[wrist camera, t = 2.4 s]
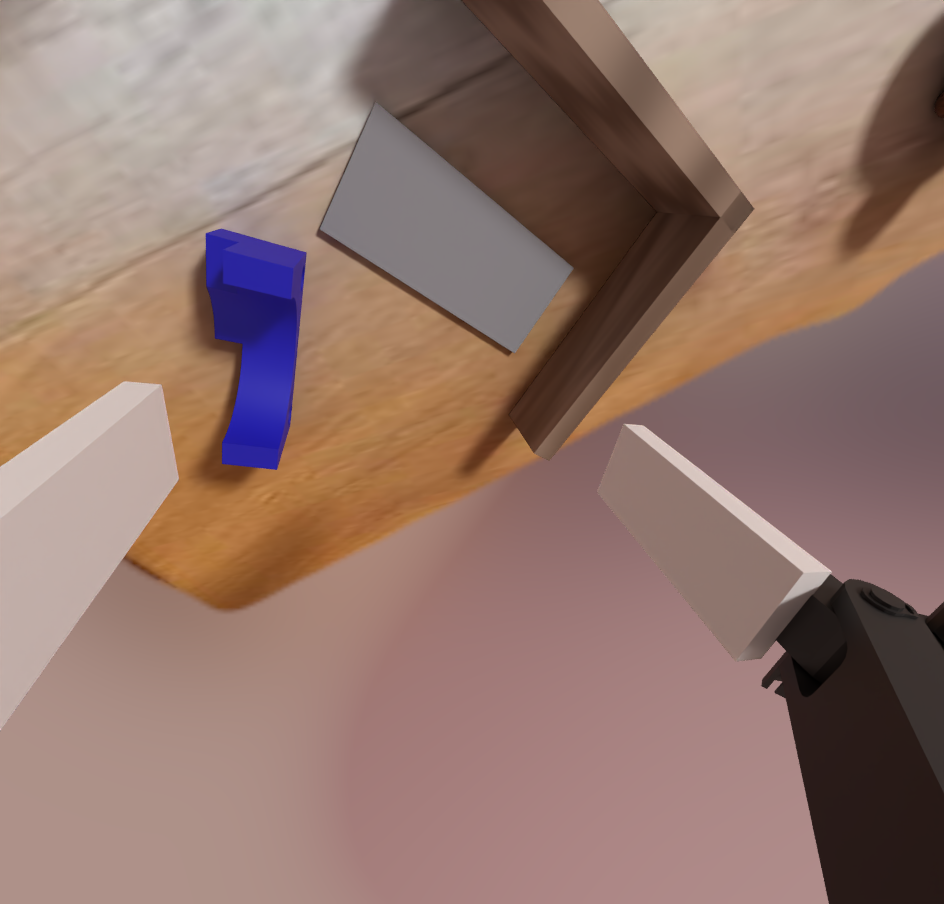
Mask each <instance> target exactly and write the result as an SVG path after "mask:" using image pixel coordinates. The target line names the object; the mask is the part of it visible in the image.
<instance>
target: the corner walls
mask: <svg viewBox="0 0 944 904" xmlns="http://www.w3.org/2000/svg"><path fill="white" fill-rule="evenodd" d="M462 2H463V3H464V4H465V5H466V6H467V7H468V8H469V9H470V10H471V11H472V12H473V13H474V15H475V16H476V17H477V18H478V19H479V20H480V21H481V22H482V23H483V24H484V25H485V26H486V27H487V29H488V30H489V31H490V32H491V33H492V34H493V35H494V36H495V37H496V38H497V39H498V40H499V42H500V43H501V44H502V45H503V46H504V47H505V48H506V49H507V50H508V51H509V52H510V53H511V55H512V56H513V57H514V58H515V59H516V60H517V61H518V62H519V63H520V64H521V65H522V66H523V68H524V69H525V70H526V71H527V72H528V73H529V74H530V75H531V76H532V77H533V78H534V79H535V81H536V82H537V83H538V84H539V85H540V86H541V87H542V88H543V89H544V90H545V91H546V92H547V93H548V95H549V96H550V97H551V98H552V99H553V100H554V101H555V102H556V103H557V104H558V105H559V106H560V108H561V109H562V110H563V111H564V112H565V113H566V114H567V115H568V116H569V117H570V118H571V119H572V121H573V122H574V123H575V124H576V125H577V126H578V127H579V128H580V129H581V130H582V131H583V132H584V134H585V135H586V136H587V137H588V138H589V139H590V140H591V141H592V142H593V143H594V144H595V145H596V146H597V148H598V149H599V150H600V151H601V152H602V153H603V154H604V155H605V156H606V157H607V158H608V159H609V161H610V162H611V163H612V164H613V165H614V166H615V167H616V168H617V169H618V170H619V171H620V172H621V174H622V175H623V176H624V177H625V178H626V179H627V180H628V181H629V182H630V183H631V184H632V185H633V187H634V188H635V189H636V190H637V191H638V192H639V193H640V194H641V195H642V196H643V197H644V198H645V200H646V201H647V202H648V203H649V204H650V205H651V206H652V207H653V208H654V209H655V210H656V211H657V213H656V214H655V216H654V217H653V218H652V220H651V221H650V222H649V224H648V225H647V227H646V228H645V229H644V231H643V232H642V233H641V235H640V236H639V238H638V239H637V240H636V242H635V243H634V244H633V246H632V247H631V248H630V250H629V251H628V253H627V254H626V255H625V257H624V258H623V259H622V261H621V262H620V264H619V265H618V266H617V268H616V269H615V270H614V272H613V273H612V274H611V276H610V277H609V279H608V280H607V281H606V283H605V284H604V285H603V287H602V288H601V290H600V291H599V292H598V294H597V295H596V296H595V298H594V299H593V300H592V302H591V303H590V305H589V306H588V307H587V309H586V310H585V311H584V313H583V314H582V316H581V317H580V318H579V320H578V321H577V322H576V324H575V325H574V326H573V328H572V329H571V331H570V332H569V333H568V335H567V336H566V337H565V339H564V340H563V341H562V343H561V344H560V346H559V347H558V348H557V350H556V351H555V352H554V354H553V355H552V357H551V358H550V359H549V361H548V362H547V363H546V365H545V366H544V367H543V369H542V370H541V372H540V373H539V374H538V376H537V377H536V378H535V380H534V381H533V383H532V384H531V385H530V387H529V388H528V389H527V391H526V392H525V393H524V395H523V396H522V398H521V399H520V400H519V402H518V403H517V404H516V406H515V407H514V409H513V410H512V411H511V413H510V414H509V416H510V417H511V419H512V420H513V422H514V423H515V425H516V426H517V428H518V430H519V431H520V433H521V434H522V436H523V437H524V439H525V440H526V442H527V443H528V445H529V446H530V448H531V449H532V451H533V452H534V454H536V455H538V456H540V457H542V458H544V459H546V460H548V461H549V460H550V459H551V458H552V457H553V456H554V454H555V453H556V452H557V451H558V449H559V448H560V447H561V446H562V445H563V443H564V442H565V441H566V440H567V438H568V437H569V436H570V435H571V433H572V432H573V431H574V430H575V429H576V427H577V426H578V425H579V424H580V422H581V421H582V420H583V419H584V418H585V416H586V415H587V414H588V413H589V411H590V410H591V409H592V408H593V406H594V405H595V404H596V403H597V402H598V400H599V399H600V398H601V397H602V395H603V394H604V393H605V392H606V391H607V389H608V388H609V387H610V386H611V384H612V383H613V382H614V381H615V379H616V378H617V377H618V376H619V375H620V373H621V372H622V371H623V370H624V368H625V367H626V366H627V365H628V363H629V362H630V361H631V360H632V359H633V357H634V356H635V355H636V354H637V352H638V351H639V350H640V349H641V348H642V346H643V345H644V344H645V343H646V341H647V340H648V339H649V338H650V336H651V335H652V334H653V333H654V332H655V330H656V329H657V328H658V327H659V325H660V324H661V323H662V322H663V321H664V319H665V318H666V317H667V316H668V314H669V313H670V312H671V311H672V309H673V308H674V307H675V306H676V305H677V303H678V302H679V301H680V300H681V298H682V297H683V296H684V295H685V293H686V292H687V291H688V290H689V289H690V287H691V286H692V285H693V284H694V282H695V281H696V280H697V279H698V278H699V276H700V275H701V274H702V273H703V271H704V270H705V269H706V268H707V266H708V265H709V264H710V263H711V262H712V260H713V259H714V258H715V257H716V255H717V254H718V253H719V252H720V250H721V249H722V248H723V247H724V246H725V244H726V243H727V242H728V241H729V239H730V238H731V237H732V236H733V235H734V233H735V232H736V231H737V230H738V228H739V227H740V226H741V225H742V223H743V222H744V221H745V220H746V219H747V217H748V216H749V215H750V214H751V212H752V211H753V210H754V208H753V206H752V205H751V204H750V202H749V201H748V200H747V198H746V197H745V196H744V194H743V193H742V192H741V190H740V189H739V188H738V186H737V185H736V184H735V182H734V181H733V180H732V178H731V177H730V176H729V174H728V173H727V172H726V170H725V169H724V168H723V166H722V165H721V164H720V162H719V161H718V159H717V158H716V157H715V155H714V154H713V153H712V151H711V150H710V149H709V147H708V146H707V145H706V143H705V142H704V141H703V139H702V138H701V137H700V135H699V134H698V133H697V131H696V130H695V129H694V127H693V126H692V125H691V123H690V122H689V121H688V119H687V118H686V117H685V115H684V114H683V113H682V111H681V110H680V109H679V107H678V106H677V105H676V103H675V102H674V101H673V99H672V98H671V97H670V95H669V94H668V93H667V91H666V90H665V89H664V87H663V86H662V85H661V83H660V82H659V81H658V79H657V78H656V77H655V75H654V74H653V73H652V71H651V70H650V69H649V67H648V66H647V65H646V63H645V62H644V61H643V59H642V58H641V57H640V55H639V54H638V53H637V51H636V50H635V49H634V47H633V46H632V44H631V43H630V42H629V40H628V39H627V38H626V36H625V35H624V34H623V32H622V31H621V30H620V28H619V27H618V26H617V24H616V23H615V22H614V20H613V19H612V18H611V16H610V15H609V14H608V12H607V11H606V10H605V8H604V7H603V6H602V4H601V3H600V2H599V0H462Z"/></svg>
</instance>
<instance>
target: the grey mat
mask: <svg viewBox="0 0 944 904" xmlns="http://www.w3.org/2000/svg"><path fill="white" fill-rule="evenodd" d="M320 230H322V231H323V232H325V233H326V234H328V235H330V236H331V237H333V238H334V239H336V240H337V241H339V242H341V243H342V244H344V245H345V246H347V247H348V248H350V249H352V250H353V251H355V252H356V253H358V254H359V255H361V256H363V257H364V258H366V259H367V260H369V261H370V262H372V263H374V264H375V265H377V266H378V267H380V268H381V269H383V270H385V271H386V272H388V273H389V274H391V275H392V276H394V277H396V278H397V279H399V280H400V281H402V282H403V283H405V284H407V285H408V286H410V287H411V288H413V289H414V290H416V291H418V292H419V293H421V294H422V295H424V296H425V297H427V298H429V299H430V300H432V301H433V302H435V303H436V304H438V305H439V306H441V307H443V308H444V309H446V310H447V311H449V312H450V313H452V314H454V315H455V316H457V317H458V318H460V319H461V320H463V321H465V322H466V323H468V324H469V325H471V326H472V327H474V328H476V329H477V330H479V331H480V332H482V333H483V334H485V335H487V336H488V337H490V338H491V339H493V340H494V341H496V342H498V343H499V344H501V345H502V346H504V347H505V348H507V349H509V350H510V351H512V352H513V353H515V352H516V351H517V349H518V348H519V347H520V345H521V344H522V342H523V341H524V339H525V338H526V336H527V335H528V333H529V332H530V331H531V329H532V328H533V326H534V325H535V323H536V322H537V320H538V319H539V318H540V316H541V315H542V313H543V312H544V310H545V309H546V307H547V306H548V305H549V303H550V302H551V300H552V299H553V297H554V296H555V294H556V293H557V292H558V290H559V289H560V287H561V286H562V284H563V283H564V281H565V280H566V279H567V277H568V276H569V274H570V273H571V271H572V270H573V267H572V266H571V265H569V264H568V263H567V262H566V261H565V260H564V259H562V258H561V257H560V256H559V255H558V254H556V253H555V252H554V251H553V250H552V249H550V248H549V247H548V246H547V245H546V244H545V243H543V242H542V241H541V240H540V239H539V238H537V237H536V236H535V235H534V234H533V233H531V232H530V231H529V230H528V229H527V228H525V227H524V226H523V225H522V224H521V223H520V222H518V221H517V220H516V219H515V218H514V217H512V216H511V215H510V214H509V213H508V212H506V211H505V210H504V209H503V208H502V207H500V206H499V205H498V204H497V203H496V202H495V201H493V200H492V199H491V198H490V197H489V196H487V195H486V194H485V193H484V192H483V191H481V190H480V189H479V188H478V187H477V186H475V185H474V184H473V183H472V182H471V181H470V180H468V179H467V178H466V177H465V176H464V175H462V174H461V173H460V172H459V171H458V170H456V169H455V168H454V167H453V166H452V165H450V164H449V163H448V162H447V161H446V160H445V159H443V158H442V157H441V156H440V155H439V154H437V153H436V152H435V151H434V150H433V149H431V148H430V147H429V146H428V145H427V144H425V143H424V142H423V141H422V140H421V139H420V138H418V137H417V136H416V135H415V134H414V133H412V132H411V131H410V130H409V129H408V128H406V127H405V126H404V125H403V124H402V123H401V122H399V121H398V120H397V119H396V118H395V117H393V116H392V115H391V114H390V113H389V112H387V111H386V110H385V109H384V108H383V107H381V106H380V105H379V104H378V103H377V102H375V105H374V107H373V109H372V111H371V114H370V116H369V118H368V120H367V123H366V125H365V127H364V129H363V132H362V134H361V136H360V139H359V141H358V143H357V145H356V148H355V150H354V152H353V154H352V157H351V159H350V161H349V164H348V166H347V168H346V170H345V173H344V175H343V177H342V179H341V182H340V184H339V186H338V189H337V191H336V193H335V195H334V198H333V200H332V202H331V204H330V207H329V209H328V211H327V214H326V216H325V218H324V220H323V223H322V225H321V227H320Z"/></svg>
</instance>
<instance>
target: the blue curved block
mask: <svg viewBox="0 0 944 904" xmlns="http://www.w3.org/2000/svg"><path fill="white" fill-rule="evenodd" d="M305 263H306V252H303V251H299V250H295V249H292V248H288V247H285V246H281V245H278V244H274V243H270V242H267V241H263V240H260V239H256V238H253V237H249V236H246V235H242V234H238V233H235V232H231V231H228V230H224V229H219V230H215V231H212V232H208V233H206V285H207V289H208V292H209V295H210V298H211V303H212V308H213V315H214V326H215V338H216V339H221V340H226V341H231V342H236V343H241V344H243V348H242V363H241V373H240V380H239V387H238V393H237V398H236V403H235V407H234V411H233V415H232V418H231V422H230V425H229V428H228V431H227V433H226V436H225V438H224V440H223V442H222V464H228V465H238V466H247V467H256V468H266V469H275V470H277V468H278V465H279V461H280V458H281V454H282V451H283V448H284V444H285V441H286V437H287V434H288V431H289V427H290V421H291V411H292V400H293V389H294V379H295V368H296V358H297V347H298V337H299V326H300V315H301V305H302V294H303V284H304V273H305Z"/></svg>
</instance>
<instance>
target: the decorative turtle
mask: <svg viewBox="0 0 944 904" xmlns="http://www.w3.org/2000/svg"><path fill="white" fill-rule="evenodd" d="M935 113H936V114H937V115H938V116H940V117H941V118H944V91H943V92H942V93H941V94H940V96H939V97H938V99H937V101H936V103H935Z"/></svg>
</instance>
